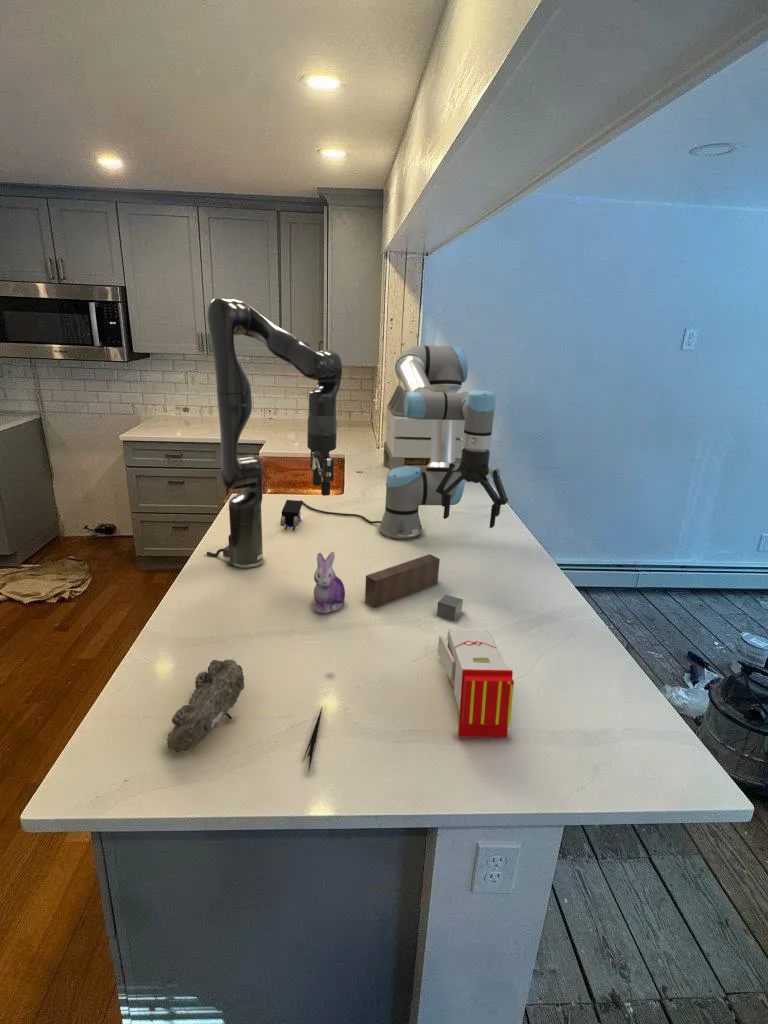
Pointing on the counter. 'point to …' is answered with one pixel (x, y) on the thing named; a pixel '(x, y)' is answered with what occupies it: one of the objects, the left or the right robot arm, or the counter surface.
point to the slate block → (449, 607)
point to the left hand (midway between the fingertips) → (321, 490)
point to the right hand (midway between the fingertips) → (468, 521)
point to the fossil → (206, 705)
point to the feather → (313, 740)
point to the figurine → (327, 586)
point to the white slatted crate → (410, 436)
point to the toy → (478, 682)
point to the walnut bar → (401, 580)
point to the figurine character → (291, 514)
